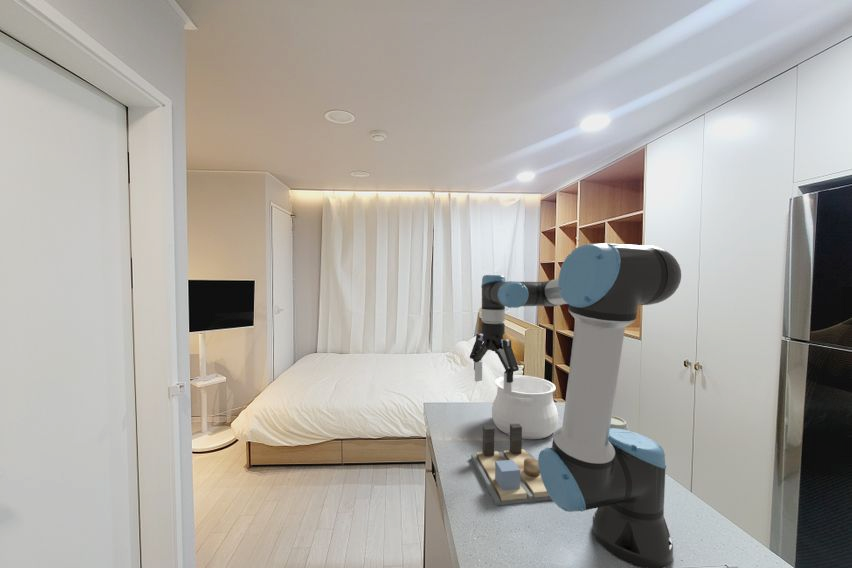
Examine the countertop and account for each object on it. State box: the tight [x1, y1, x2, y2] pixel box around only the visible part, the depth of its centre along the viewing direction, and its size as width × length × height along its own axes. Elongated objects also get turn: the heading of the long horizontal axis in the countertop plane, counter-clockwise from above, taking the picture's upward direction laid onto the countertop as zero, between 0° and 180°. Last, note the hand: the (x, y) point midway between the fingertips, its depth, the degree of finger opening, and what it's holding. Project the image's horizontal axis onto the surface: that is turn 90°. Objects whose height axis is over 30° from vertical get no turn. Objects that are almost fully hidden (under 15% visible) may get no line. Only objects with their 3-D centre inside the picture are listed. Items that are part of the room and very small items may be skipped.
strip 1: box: [475, 424, 527, 501], centre depth 98 cm, size 21×7×10 cm, turn 9°
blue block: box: [495, 460, 520, 490], centre depth 92 cm, size 5×5×5 cm
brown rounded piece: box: [524, 458, 540, 477], centre depth 97 cm, size 4×4×3 cm
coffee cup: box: [610, 415, 629, 431], centre depth 110 cm, size 8×8×12 cm
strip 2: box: [502, 424, 549, 498], centre depth 99 cm, size 21×7×10 cm, turn 9°
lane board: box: [470, 449, 553, 506], centre depth 98 cm, size 22×19×2 cm
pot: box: [491, 374, 559, 440], centre depth 130 cm, size 26×24×17 cm
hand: (492, 386), depth 112 cm, fingers open, 13 cm apart
